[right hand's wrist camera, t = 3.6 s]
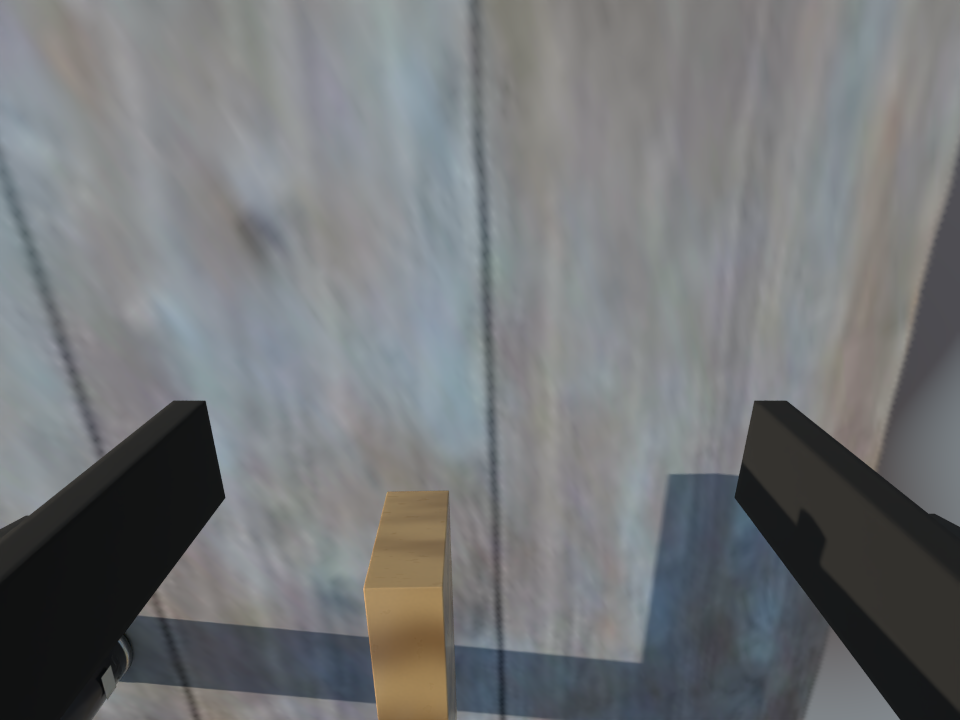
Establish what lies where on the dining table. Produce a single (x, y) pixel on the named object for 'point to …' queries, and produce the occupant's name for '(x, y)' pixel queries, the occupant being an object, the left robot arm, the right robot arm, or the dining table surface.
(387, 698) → the bar
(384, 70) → the dining table surface
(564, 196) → the dining table surface
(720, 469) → the dining table surface
